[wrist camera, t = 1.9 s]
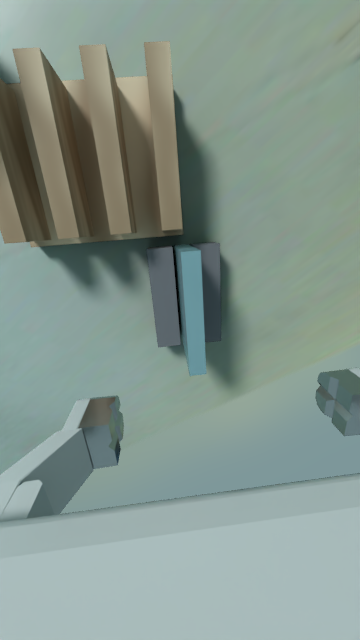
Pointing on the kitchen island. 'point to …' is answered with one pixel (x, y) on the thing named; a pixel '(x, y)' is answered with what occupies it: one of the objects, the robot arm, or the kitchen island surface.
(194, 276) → the tall light blue block
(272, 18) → the kitchen island surface
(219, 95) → the kitchen island surface
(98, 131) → the rack
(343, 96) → the kitchen island surface
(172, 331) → the stand
